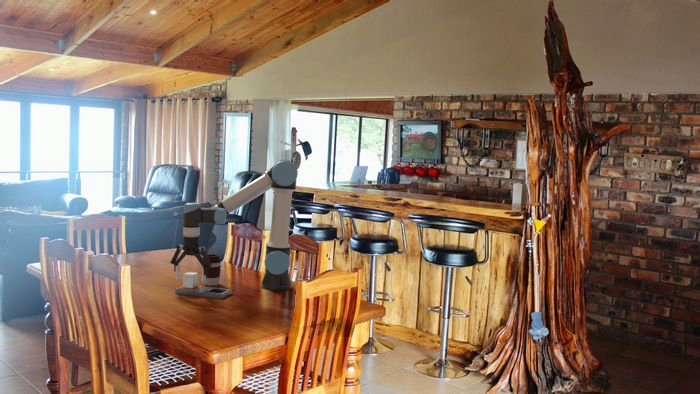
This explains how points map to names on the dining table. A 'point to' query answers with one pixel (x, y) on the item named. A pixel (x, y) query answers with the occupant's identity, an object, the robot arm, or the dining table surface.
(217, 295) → the grey tray
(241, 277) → the dining table surface
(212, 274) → the coffee cup
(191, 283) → the block
